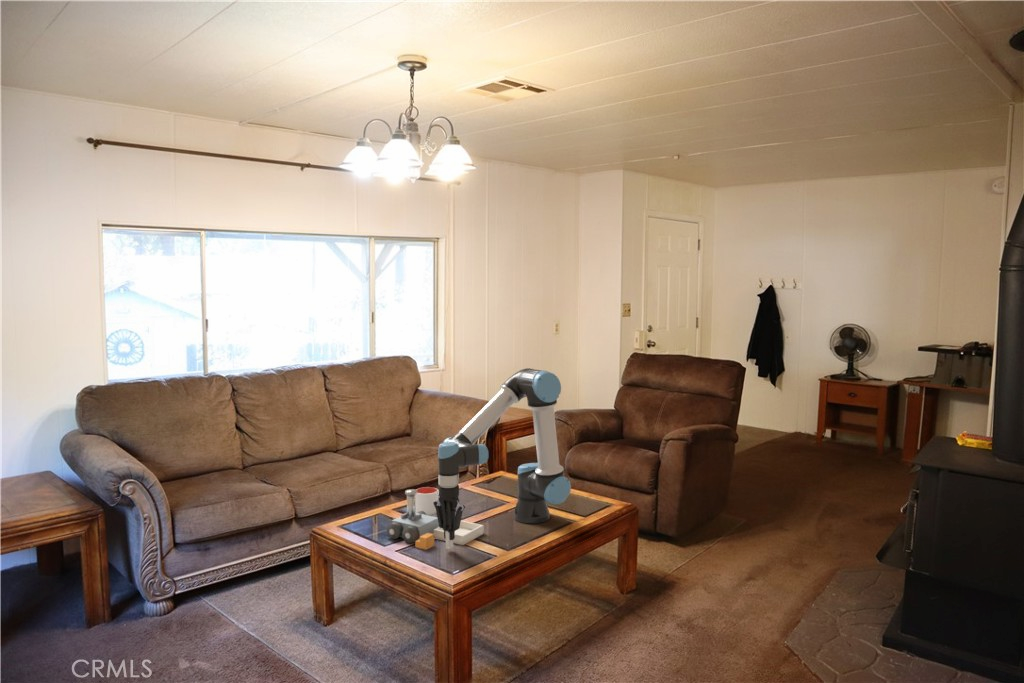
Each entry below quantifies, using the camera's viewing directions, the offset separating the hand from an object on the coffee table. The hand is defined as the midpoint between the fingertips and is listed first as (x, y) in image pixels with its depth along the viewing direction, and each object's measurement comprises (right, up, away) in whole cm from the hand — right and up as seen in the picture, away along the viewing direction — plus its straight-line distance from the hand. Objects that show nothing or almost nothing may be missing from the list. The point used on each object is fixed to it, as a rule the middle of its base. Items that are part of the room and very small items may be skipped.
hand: (449, 547), depth 250 cm
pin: (-17, +6, +19) cm, 26 cm away
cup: (-14, +2, +43) cm, 45 cm away
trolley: (-15, 0, +18) cm, 24 cm away
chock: (-10, -1, +5) cm, 11 cm away
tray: (+2, 0, +16) cm, 16 cm away
